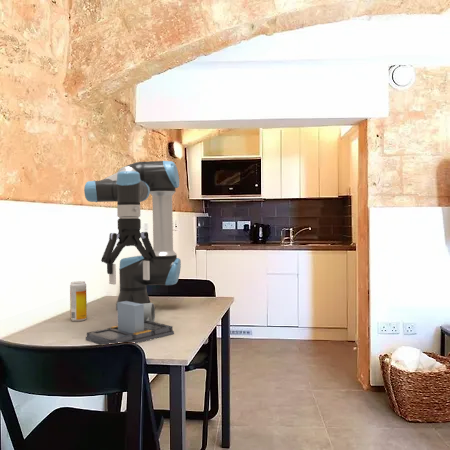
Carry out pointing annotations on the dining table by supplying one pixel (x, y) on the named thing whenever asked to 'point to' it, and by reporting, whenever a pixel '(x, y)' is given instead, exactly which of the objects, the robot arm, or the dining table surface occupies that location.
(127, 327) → the blue-grey rectangular block
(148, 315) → the ceramic mug
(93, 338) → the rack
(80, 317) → the beer can
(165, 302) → the dining table surface
